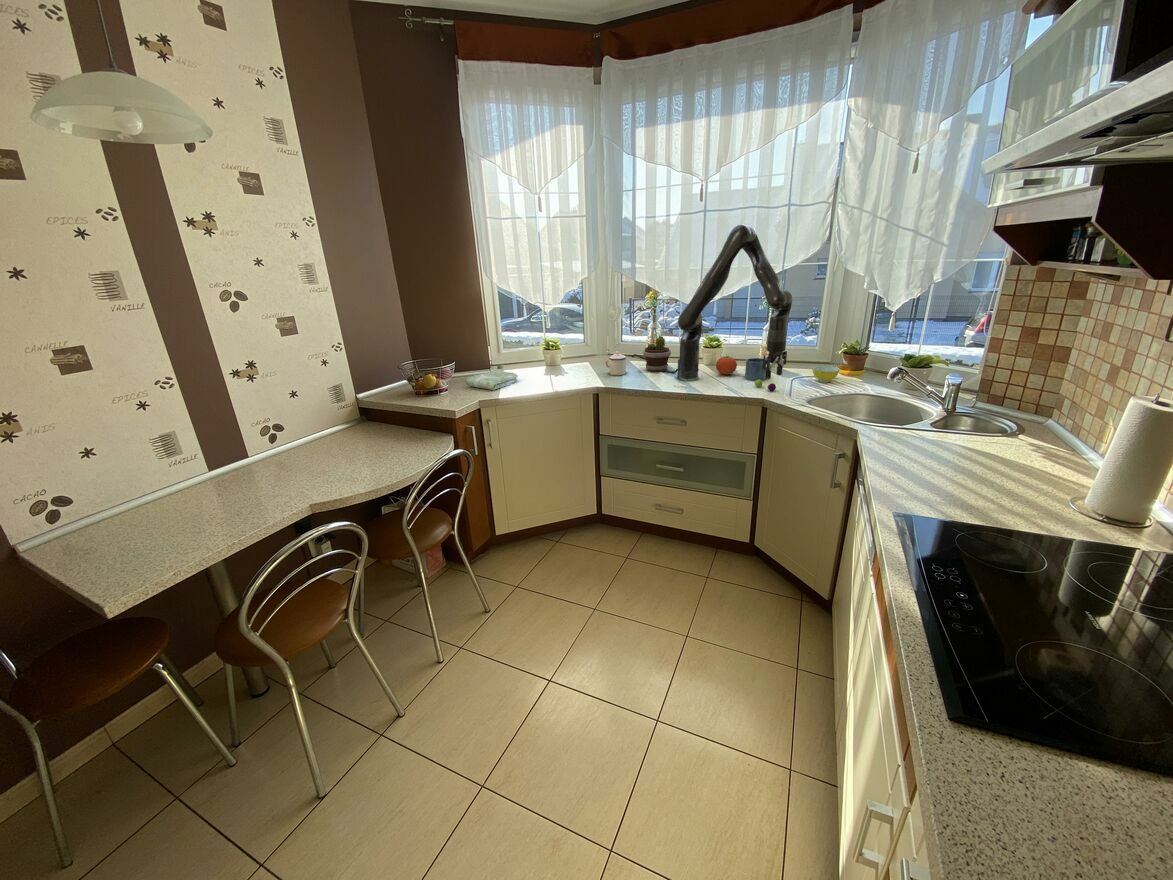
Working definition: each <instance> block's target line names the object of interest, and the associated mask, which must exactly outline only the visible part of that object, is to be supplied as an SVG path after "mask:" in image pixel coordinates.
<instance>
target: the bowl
mask: <svg viewBox="0 0 1173 880" xmlns="http://www.w3.org/2000/svg"><path fill="white" fill-rule="evenodd" d="M840 371H841V368H839V367H838V366H835V365H834V366H833V365H815V366H812V374H813V376H814V377H815V378H816V379H817V380H818V382H819V383H830V381H831V380H833V379H835V378H836V377H837V376H838V375H839V373H840Z"/></svg>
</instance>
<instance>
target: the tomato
mask: <svg viewBox="0 0 1173 880" xmlns="http://www.w3.org/2000/svg"><path fill="white" fill-rule="evenodd" d="M737 367H738V362H737V360H736V359H735V358H734V357H732V356H728V355H726V356H721V357H719V358H718V360H716V363H715V368H716V371H717V372H718V373H719V374H721V375H725V376H727V375H731V374H733V373H734V372H736V370H737Z"/></svg>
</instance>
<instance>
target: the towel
mask: <svg viewBox="0 0 1173 880" xmlns="http://www.w3.org/2000/svg"><path fill="white" fill-rule="evenodd" d="M518 377H519V375H518V374H517V373H515V372H510V371H504V370H503V371H502V370H501V371H499V370H498V371H494V370H493V371H488V372H485V373H479V374H475V375H471V376H469V377H467V378H466V379H465V384H466V385H467V386H469V387H472V388H473V387H474V388H478V389H485V390H490V391H495V390H499V389H501V388H504V387H506V386H509V385H513V384H514V383H517V382H518Z"/></svg>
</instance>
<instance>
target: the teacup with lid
mask: <svg viewBox="0 0 1173 880" xmlns="http://www.w3.org/2000/svg"><path fill="white" fill-rule="evenodd" d="M608 362H609V363H608ZM605 366H606V368H608V369H609V374H610V376H624V375H626V374H627V356H626V355H624V354H622V353H620V351H615V353H613V354H612V355H610V356H609V357H608V359H606V360H605Z"/></svg>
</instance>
